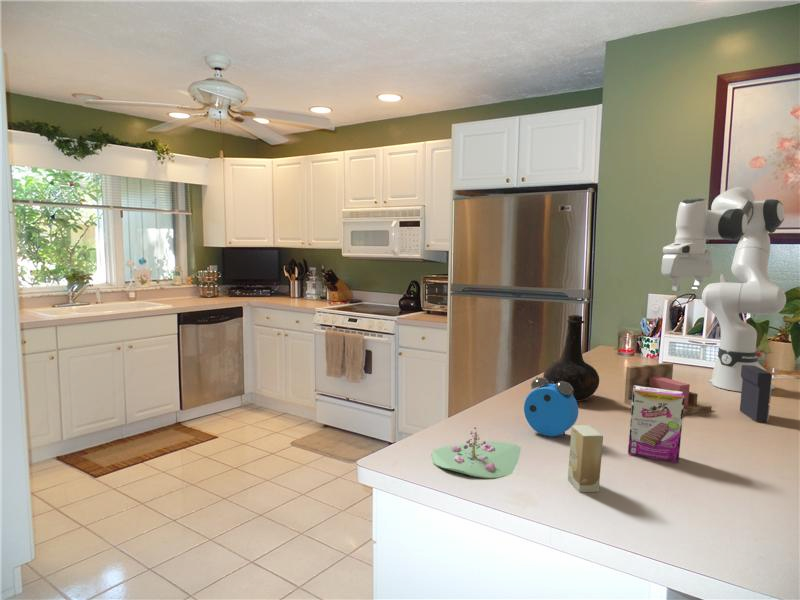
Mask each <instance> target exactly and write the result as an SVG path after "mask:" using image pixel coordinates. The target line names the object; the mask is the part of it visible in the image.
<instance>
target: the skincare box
mask: <svg viewBox="0 0 800 600" xmlns="http://www.w3.org/2000/svg"><path fill="white" fill-rule="evenodd" d="M570 430H571V432H570V444H569V455H568V458H569V459H568V470H567V471H568V472H567V480H568V481H569V482H570V484H572V486H573V488H575V489H576V490H577V491H578V492H579V493H599V492H600V479H601V466H602V458H603V457H602V455H603V445H604V443H603V442H604V435H603V434H601V433H600V432H599V431H598V430H597V429H595V428H594V427H592V426H591V425H590V424H589V425H588V424H587V425H585V424H583V425H580V424H579V425H577V424H574V425H572V427H571V428H570Z"/></svg>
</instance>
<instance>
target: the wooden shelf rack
mask: <svg viewBox="0 0 800 600" xmlns="http://www.w3.org/2000/svg"><path fill="white" fill-rule="evenodd" d="M673 372H674V363H673V362H663V363H652V364H642V365H633V366H626V372H625V373H626V374H625V387H624V388H625V390H624V400H623V401H624V402H623V403H624V404H626V405H630V406H632V400H630V399H629V398H632V397H633V387H634V386H646V387H649V378H650V377H656V376H660V377H664V378H668V379H671V380H673ZM698 395H699V394H698V393H696V392H692V391H689V399H688V406H686V407H684V409H683V416H685V415H686V416H687V415H691V414H692V415H693V414H698V413H699V414H700V413H704V412H710V411H712V407H713V406H712V405H709V404H706V403H703V402H700V401H698Z"/></svg>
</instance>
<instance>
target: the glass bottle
mask: <svg viewBox="0 0 800 600" xmlns="http://www.w3.org/2000/svg"><path fill="white" fill-rule="evenodd" d="M567 317H568V319H567V321H566V322H568V323H567V331H566V337H565V343H564V347H563V351H562V354H561V356H560V358H559V359H558V360H556V361H553V362H551V363H550V364H549V365H547V367H546V368H545V370H544V373H543V376H542V377H543V378H546V379H547V380H548V382H549V383H547V384H556V383H558V382H560V381H565V382H567V383H569V384H570V385H571V386H572V387H573V391H574V392H573V396H574V398H575V399H576V402H580V401H581V402H582V401H585V400H587V399H589V398H590V397H591V396H593V395H594V393H596V391H597V389H598V388H599V385H600V376H599V373H598V372H597V370H596V368H594V367H593V366H592V365H591V364H588V363H586V362H585V360H584V357H583V350H582V349H583V348H582V342H583V341H582V330H583V328H582V326H583V325H582V324H585V320H583V315H582V316H581V315H578V314H573V315H572V314H571V315H568V316H567ZM550 381H553V382H554V383H551V382H550ZM545 385H546V384H545Z"/></svg>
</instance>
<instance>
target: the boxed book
mask: <svg viewBox="0 0 800 600" xmlns="http://www.w3.org/2000/svg"><path fill="white" fill-rule="evenodd" d="M690 386H691V385H690V384H689V383H686V382H682V381H679V380H675V379H672V380H671V379H668V378H664V377H660V376H656V377H650V378H649V387H650V388H657V389H665V390H673V391H680V392H683V393H684V407H686V406H688V399H689V392H690Z"/></svg>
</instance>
